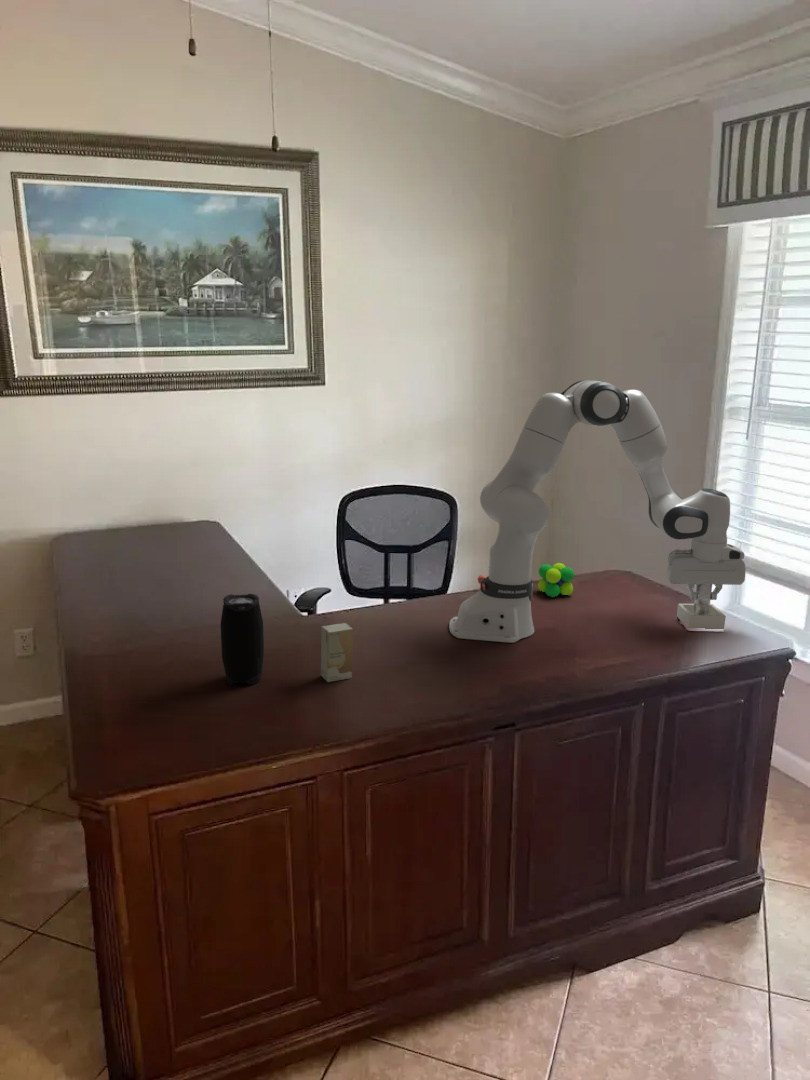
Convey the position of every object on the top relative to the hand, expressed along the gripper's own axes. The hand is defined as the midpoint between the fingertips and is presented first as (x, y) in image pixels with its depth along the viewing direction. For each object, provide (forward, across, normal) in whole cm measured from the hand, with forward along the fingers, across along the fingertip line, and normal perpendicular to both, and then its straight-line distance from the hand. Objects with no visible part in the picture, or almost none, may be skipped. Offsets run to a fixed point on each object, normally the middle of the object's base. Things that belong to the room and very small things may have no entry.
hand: (702, 599), depth 232 cm
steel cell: (+4, 0, 0) cm, 4 cm away
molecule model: (+8, -35, +25) cm, 44 cm away
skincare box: (+8, -96, -36) cm, 103 cm away
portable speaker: (+8, -117, -38) cm, 123 cm away
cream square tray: (+8, 0, 0) cm, 8 cm away
